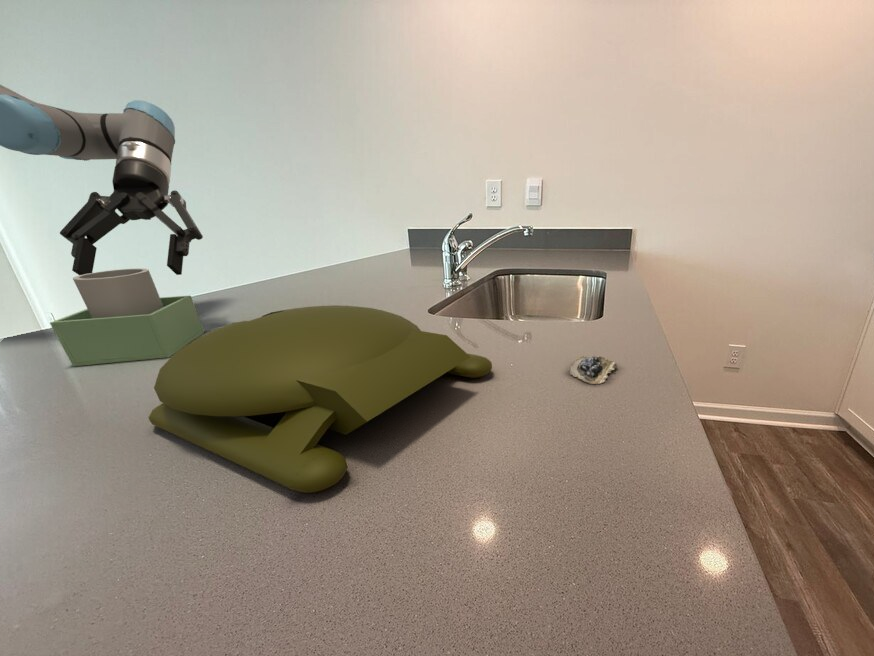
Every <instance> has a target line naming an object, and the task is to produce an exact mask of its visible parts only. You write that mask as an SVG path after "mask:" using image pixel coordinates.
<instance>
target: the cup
mask: <svg viewBox="0 0 874 656" xmlns="http://www.w3.org/2000/svg"><path fill="white" fill-rule="evenodd" d="M72 280H73V283H74V284H75V287H76V288H77V290H78V293H79V294H80V296H81V298H82V300H83V303H84V304H85V306H86V309H88V311H89V313H90V315H91V317H92V319H94V318H107V317H121V316H134V315H147V314H151V313H153V312H155V311H157V310H159V309H161V308H163V304H162V302H161V299H160V298H161V297H160V294H159V292H158V290H157V287H156V284H155V282H154V279H153V277H152V275H151V273H150V270H149V269H148V268H121V269H112V270H101V271H96V272H92V273H89V274H84V275H76V276H73V277H72Z"/></svg>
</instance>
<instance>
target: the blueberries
mask: <svg viewBox="0 0 874 656" xmlns="http://www.w3.org/2000/svg"><path fill="white" fill-rule="evenodd" d="M617 367H618V364H617V363H616V362H614V361H611V360H609V359H606V358H605V357H604V356H595V355H594V356H591V357H588V356H584V355H583V356H580V357H579V358H577V359H575V361H574V362H573V364H572V365H571V366H570V367H569V370H570V372H569V375H571V376H573V377H574V378H577V379H580V380H581V381H583V383H587V384H589V385H597V384H598V385H600V384H602V383H605V382H606V379H608V374H612V371H614V370H615V369H616V368H617Z"/></svg>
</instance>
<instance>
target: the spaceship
mask: <svg viewBox="0 0 874 656" xmlns="http://www.w3.org/2000/svg"><path fill="white" fill-rule="evenodd" d="M492 369H493V363H492V361H491V360H490V359H488V357H485V356H481V355H478V354H473V353H468V352H466V351H465V350H464V349H463V348H462V347H460V346H459V345H458V344H457V343H456V342H455V341H454V340H453V339H452V338H450V336H448V335H447V334H441V333H436V332H429V331H424V330H421V329H420V328H419V326H418V325H416V324H415V323H414V322H412V321H410V320H409V319H407V318H405V317H403V316H402V315H398V314H396V313H393V312H389V311H387V310H382V309H377V308H373V307H364V306H354V305H339V304H338V305H335V304H334V305H315V306H304V307H296V308H295V307H294V308H288V309H284V310H276V311H272V312H268V313H267V314H263V315H261V316H260V317H257V318H254V319H251V320H242V321H237V322H232V323H230V324H229V323H228V324H227V325H224V326H222V327H219V328H217V329H214V330H212V331H209V332H207V333H204V334H202V335H200V336H198V337H197V338H196V339H194V340H193V341H191V342H190V343H189V344H187V345H186V346H184V347H183V348H181V349H180V350H178V351H177V352H176V353H174V354H173V355H172V356H170V357H169V359H168V360H167V361H166V362H165V363H164V364H163V365H162V366H161V367H160V368H159V371H158V374H157V377H156V380H155V383H154V386H153V389H154V391H155V393H156V396H157V398H158V400H159V402H160V403H161V404H159V405H158V406H156V407H154V408H153V409H152V410H151V412H150V413H149V416H148V420H149V422H150V423H151V425H153V426H155V427H157V428H159V429H160V430H164V431H166V432H167V433H170V434H172V435H174V436H176V437H178V438H180V439H183V440H184V441H187V442H188V443H191V444H193V445H195V446H198V447H199V448H202V449H204V450H206V451H209V452H210V453H213V454H215V455H217V456H219V457H221V458H224V459H225V460H227V461H230V462H232V463H234V464H237V465H239V466H241V467H243V468H245V469H247V470H249V471H251V472H253V473H256V474H257V475H260V476H262V477H264V478H267V479H268V480H271V481H273V482H275V483H277V484H279V485H281V486H283V487H285V488H288V489H289V490H292V491H294V492H300V493H304V494H309V493H317V492H321V491H324V490H327V489H329V488H330V487H333V486H334V485H336V484H337V483H338V482H339V481H340V480H341V479H342V478H343V477H344V476H345V474H346V472H347V469H348V464H347V460H346V456H344V455H343V454H341V453H340V452H338V451H336V450H333V449H331V448H328V447H326V446H324V445H320V444H318V443H319V441H320V440H321V438H322V437H323V436H324V435H325V433H326V431H327V430H328V429H329V430H331V431H334V432H337V433H340V434H343V435H348V434H350V433H352V432H353V431H355V430H356V429H358V428H360V427H361V426H363V425H364V424H366V423H368V422H369V421H371V420H373V418H376V417H377V416H379V415H381V414H382V413H384V412H385V411H388V410H389V409H390V408H392V407H393V406H395V405H397V404H399V403H400V402H401V401H404V400H405V399H406V398H409V396H411V395H413V394H415V392H417V391H419V390H421V389H422V388H424V387H425V386H428V384H430V383H432V382H433V381H435V380H436V379H438V378H440V377H442V376H443V375H444V374H450V375H454V376H459V377H464V378H469V379H470V378H471V379H475V378H476V379H477V378H480V377H484V376H486V375H488V374H489V373H490V372H491V371H492ZM284 412H285V414H284V415H283V416H282V418H281V419H280V420H279V421H278V422H277V424H276V425H275V426H274V427H272V426H270V425H267V424H264V423H262V422H259V421H256V420H255V419H251V418H248V417H249V416H250V417H251V416H259V415H269V414H277V413H284Z"/></svg>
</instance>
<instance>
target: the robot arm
mask: <svg viewBox="0 0 874 656" xmlns="http://www.w3.org/2000/svg"><path fill="white" fill-rule="evenodd" d="M175 132H176V127H175V123H174V121H173V119H172V118H171V117H170V115H169V114H168V113H167V112H166V111H165V110H164V109H162V108H160V107H159V106H158V105H156V104H154V103H152V102H150V101H149V102H148V101H146V100H141V99H135V100H132V101H129V102H127V104H126V105H125V107H124V108H123V112H122V113H120V112H119V113H118V112H109V113H106V112H105V113H96V112H95V113H92V112H78V111H77V112H76V111H74V110H69V109H64V108H59V107H55V106H52V105H47V104H43V103H40V102H36V101H33V100H32V99H30V98H27V97H26V96H23V95H22V94H20V93H18V92H16V91H14V90H12V89H11V88H9V87H7V86H4V85H2V84H0V146H1V147H2V148H5V149H8V150H10V151H15V152H20V153H23V154H27V155H33V156H42V155H43V156H45V155H46V156H55V157H59V158H62V159H65V160H75V161H84V162H85V161H90V160H95V161H96V160H115V166H114V170H113V174H112V188H113V192H112V193H111V194H110V195H101V194H99V192H97V191H92V192H91V193H90V194H89V195H88V200H87V202H86V203H85V204H84V205H83V206H82V207H81V208H80V209H79V210H78V211H77V212H76V214H75V215H74V216H73V217H72V218H71V219H70V220H69V221H68V222H67V223H66V224H65V226H64V227H63V228H62V229H61V230H60V231H59V234H60V236H61V237H63V238H64V239H66V240H67V241H68V242H70V243H71V244H72V247H71V251H70V254H71V256H72V257H73V264H72V269H71V271H72V272H73V273H75V274H77V276H79V275H84V274H89V273H93V272H94V265H95V260H96V255H97V247H96V246H95V245H94V244H96V243H97V242H98V241H99V240H101V239H102V238H103V237H105V236H106V235H107V234H109V233H110V232H111V231H113V230H114V229H115V228H116V227H118V226H119V225H125V224H127V223H128V222H129V221H138V220H139V221H140V220H145V221H147V220H148V221H150V220H152V219H153V218H155V217H156V218H157V220H159V222H161V223H162V224H164V225H165V227H167V228H168V229H169V230H170V231H172V233H170V234H169V242H168V251H167V260H166V266H167V268H169V269H170V270H171V271H172V272H173V273H174V274H175V275H176V276H180V275H183V273H182V272H183V264H184V257H188V256H189V254H190V243H191V242H192V241H193V240H195V239H196V240H198V241H200V240H202V239H203V238H204V236H203V234H202V233H201V230H200V229H199V227H198V226H197V224H196V223H195V221H194V219H193V218H192V216H191V215H190V213H189V211H188V209H187V202H186V200H185V198H183V196H182V195H181V194H180V192H179V191H178V190H175V189H174V190H172V191H170V194H169V190H170V182H171V174H172V160H173V153H174V147H175V144H176V138H175V137H176V136H175V135H176V133H175ZM169 205H170V206H171V207H173V208H174V209H175V211H176V212H177V214H178V216H179V217H180V219H181V221H182V222H183V224H184V225H185V227H186V229H183V228H182V227H181V226H180V225H179V224H178V223H176V222H175V221H174V220H173V219H172V218H170V216H168V215H167V214H166V213H165V212H164V211H163V210H164V209H165V208H166V207H168V206H169ZM116 211H118V212H119V213H120V214H121V215H120V214H119V213H117V212H116Z"/></svg>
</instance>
